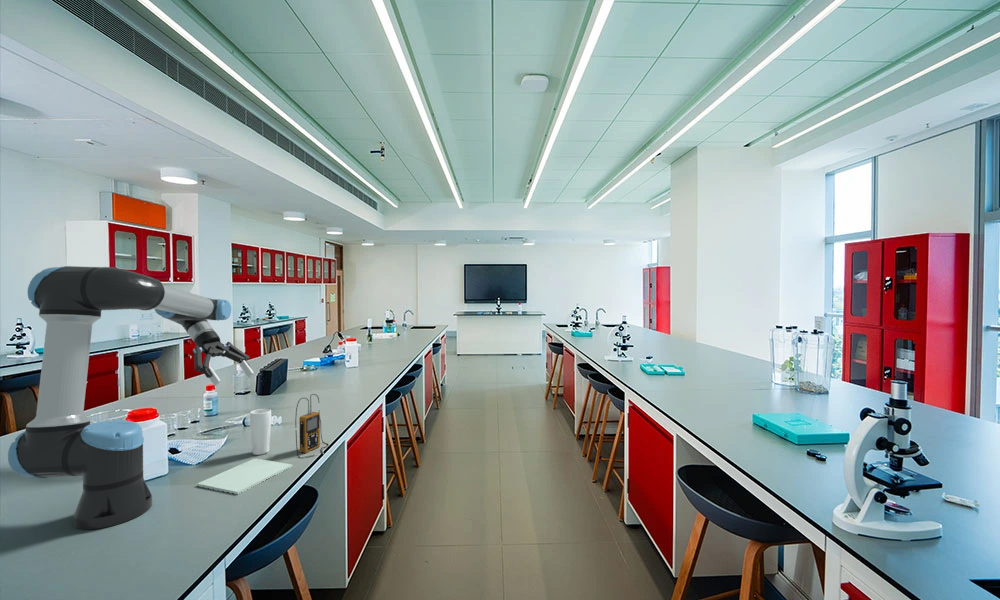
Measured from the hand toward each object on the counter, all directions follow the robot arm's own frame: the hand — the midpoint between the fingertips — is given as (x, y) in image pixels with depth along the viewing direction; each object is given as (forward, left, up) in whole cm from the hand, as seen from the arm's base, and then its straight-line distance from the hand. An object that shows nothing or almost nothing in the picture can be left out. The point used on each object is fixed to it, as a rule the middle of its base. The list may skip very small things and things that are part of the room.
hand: (235, 379), depth 156 cm
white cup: (0, -12, -26) cm, 29 cm away
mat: (-16, -24, -25) cm, 39 cm away
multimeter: (+8, -30, -26) cm, 40 cm away
